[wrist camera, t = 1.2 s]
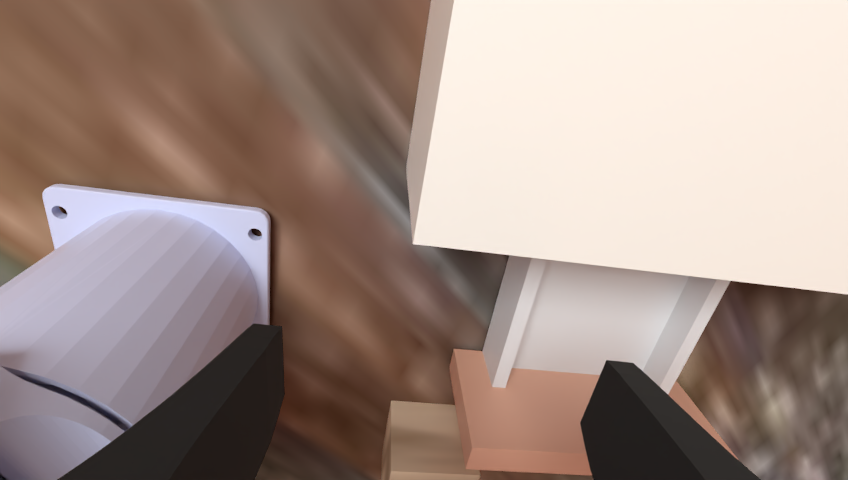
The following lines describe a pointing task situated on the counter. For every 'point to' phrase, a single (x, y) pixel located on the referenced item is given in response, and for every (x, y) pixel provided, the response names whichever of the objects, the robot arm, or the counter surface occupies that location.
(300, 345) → the counter surface
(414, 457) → the maple cube
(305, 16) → the counter surface
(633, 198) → the cabinet
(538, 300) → the drawer
